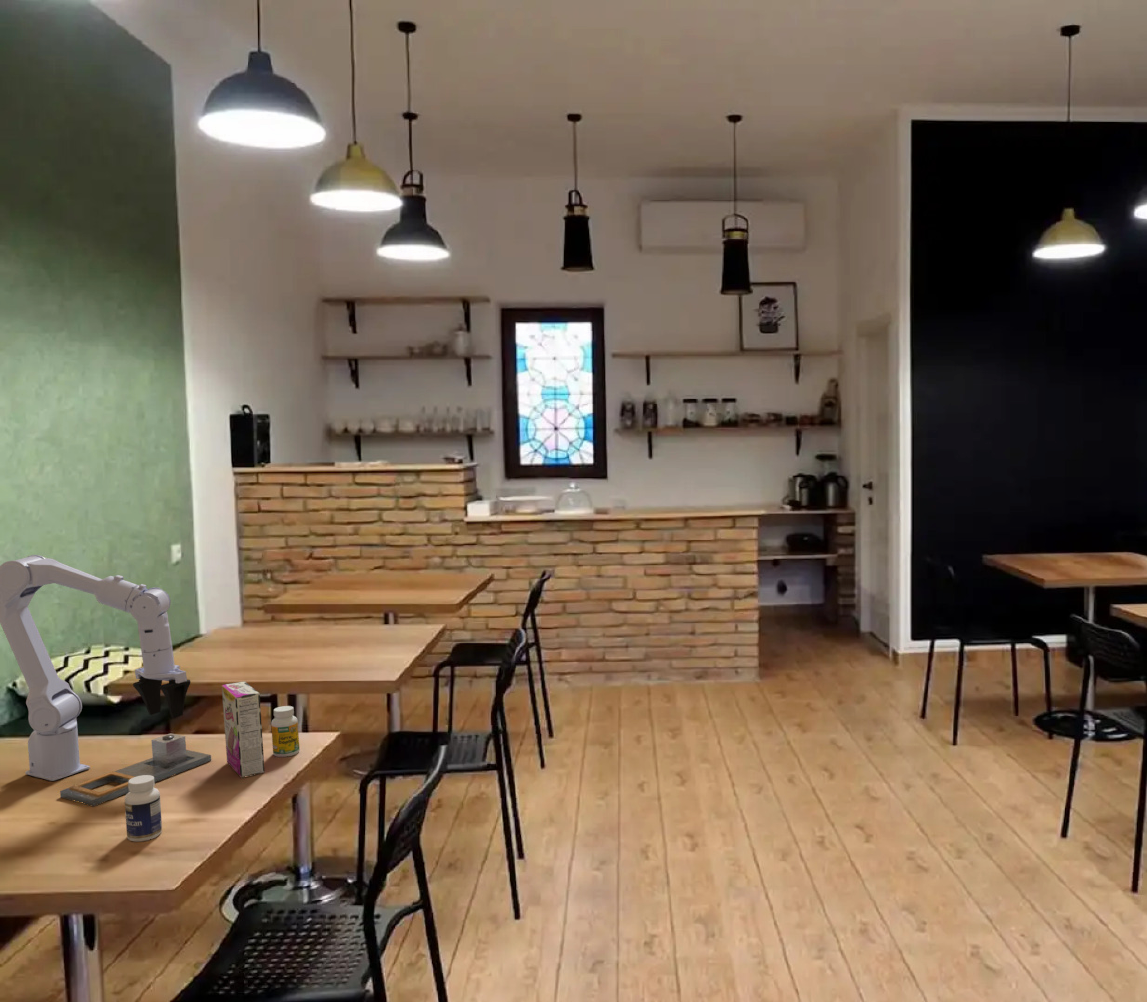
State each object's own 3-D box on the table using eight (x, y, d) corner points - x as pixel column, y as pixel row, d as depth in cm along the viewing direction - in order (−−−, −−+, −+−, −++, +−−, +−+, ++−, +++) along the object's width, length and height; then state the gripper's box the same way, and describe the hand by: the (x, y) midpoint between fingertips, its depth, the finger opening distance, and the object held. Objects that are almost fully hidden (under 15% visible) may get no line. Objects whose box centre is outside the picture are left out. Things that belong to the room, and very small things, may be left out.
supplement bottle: (295, 747, 200) (292, 703, 200) (302, 753, 196) (300, 709, 195) (269, 752, 197) (267, 707, 197) (277, 759, 193) (274, 713, 192)
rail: (60, 797, 176) (60, 789, 176) (179, 753, 198) (178, 746, 198) (93, 806, 171) (92, 798, 171) (211, 760, 193) (210, 753, 193)
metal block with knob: (153, 768, 190) (151, 738, 189) (172, 761, 194) (170, 731, 193) (167, 772, 188) (165, 741, 187) (187, 764, 192) (185, 734, 191)
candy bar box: (225, 763, 192) (220, 684, 191) (250, 757, 195) (245, 680, 193) (239, 779, 183) (234, 696, 181) (265, 773, 185) (261, 691, 184)
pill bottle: (119, 841, 155) (116, 784, 155) (140, 828, 161) (136, 772, 160) (149, 843, 154) (145, 785, 154) (168, 829, 160) (165, 773, 159)
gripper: (196, 645, 188) (205, 711, 189) (153, 642, 196) (162, 705, 197) (164, 654, 182) (173, 722, 183) (122, 651, 190) (131, 716, 191)
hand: (166, 714), depth 189 cm, fingers open, 7 cm apart
